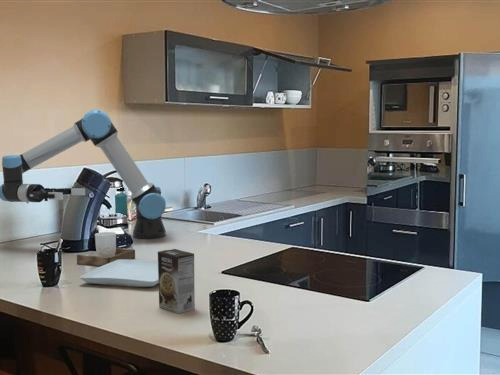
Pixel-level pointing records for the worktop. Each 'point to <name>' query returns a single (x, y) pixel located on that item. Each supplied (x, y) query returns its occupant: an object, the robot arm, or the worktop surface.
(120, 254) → the caddy
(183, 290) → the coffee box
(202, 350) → the worktop surface
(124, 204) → the green pump bottle
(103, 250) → the white cup
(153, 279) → the square plate
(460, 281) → the worktop surface
